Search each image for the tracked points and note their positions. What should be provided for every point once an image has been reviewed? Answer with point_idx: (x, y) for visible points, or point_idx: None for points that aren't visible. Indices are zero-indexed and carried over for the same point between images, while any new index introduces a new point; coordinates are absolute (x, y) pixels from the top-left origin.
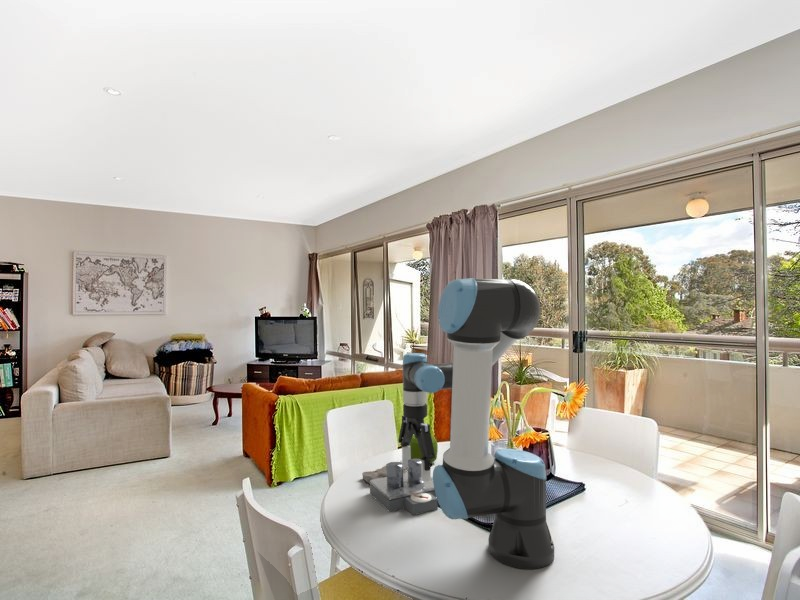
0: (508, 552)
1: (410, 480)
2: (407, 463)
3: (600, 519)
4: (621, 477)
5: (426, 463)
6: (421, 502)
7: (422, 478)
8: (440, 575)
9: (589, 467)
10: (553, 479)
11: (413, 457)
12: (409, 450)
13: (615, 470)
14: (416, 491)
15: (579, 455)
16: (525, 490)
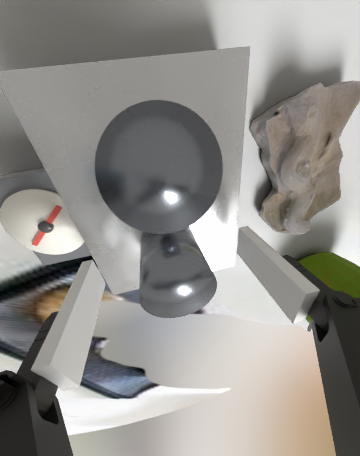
0: None
1: None
2: (244, 250)
3: None
4: (137, 414)
5: (24, 359)
6: (2, 216)
7: (79, 270)
8: None
9: (171, 401)
10: (152, 383)
11: (319, 264)
12: (278, 300)
13: (155, 411)
14: (75, 222)
15: (204, 397)
16: None
